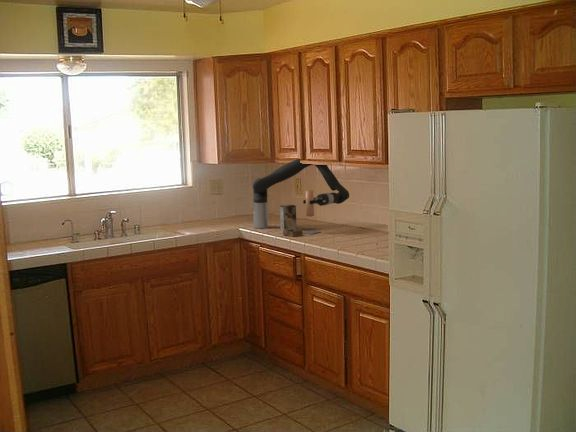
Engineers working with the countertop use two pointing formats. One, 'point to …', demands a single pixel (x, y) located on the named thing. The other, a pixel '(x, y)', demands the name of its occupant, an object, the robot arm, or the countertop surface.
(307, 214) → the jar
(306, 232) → the mat
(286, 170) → the robot arm
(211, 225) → the countertop surface
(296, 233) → the collar
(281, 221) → the coffee box
